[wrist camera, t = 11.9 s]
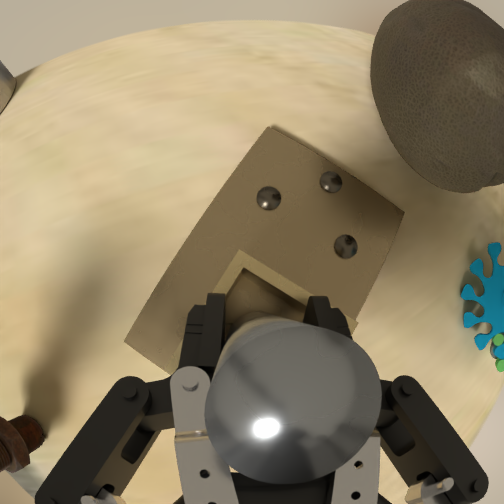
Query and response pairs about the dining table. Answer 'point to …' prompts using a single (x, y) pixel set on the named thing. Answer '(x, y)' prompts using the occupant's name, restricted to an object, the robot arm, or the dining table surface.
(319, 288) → the hinge leaf
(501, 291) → the blue lobed toy
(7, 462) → the bolt
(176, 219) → the dining table surface
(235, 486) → the robot arm
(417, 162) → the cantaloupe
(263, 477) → the pin
